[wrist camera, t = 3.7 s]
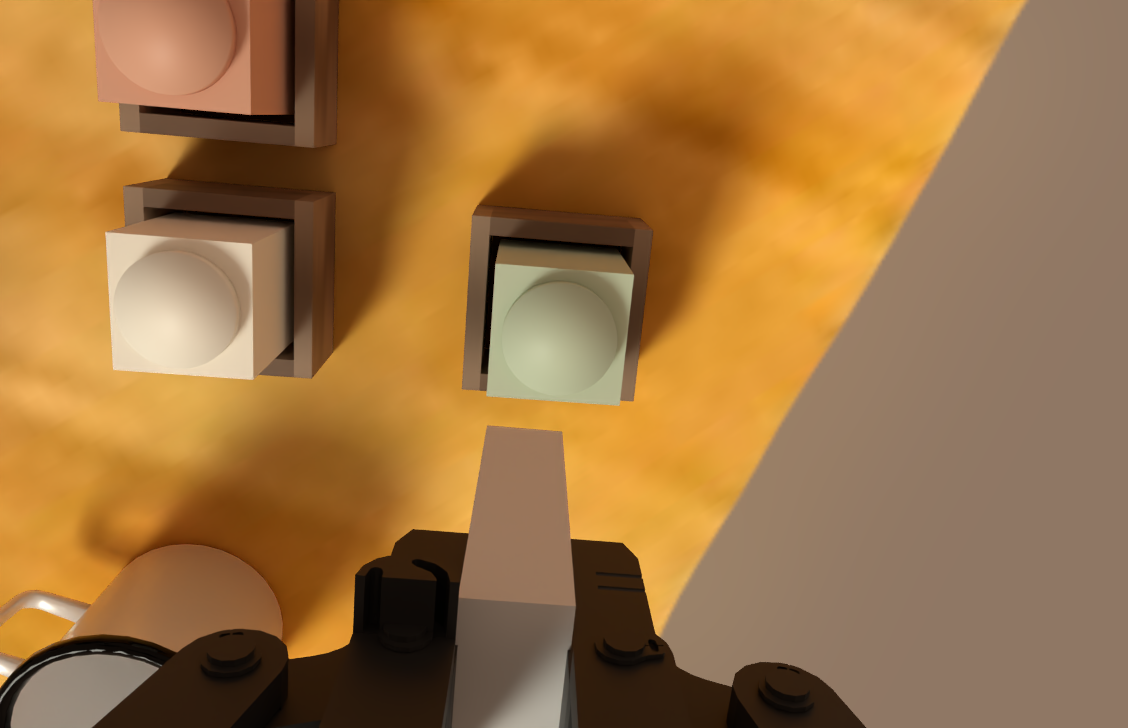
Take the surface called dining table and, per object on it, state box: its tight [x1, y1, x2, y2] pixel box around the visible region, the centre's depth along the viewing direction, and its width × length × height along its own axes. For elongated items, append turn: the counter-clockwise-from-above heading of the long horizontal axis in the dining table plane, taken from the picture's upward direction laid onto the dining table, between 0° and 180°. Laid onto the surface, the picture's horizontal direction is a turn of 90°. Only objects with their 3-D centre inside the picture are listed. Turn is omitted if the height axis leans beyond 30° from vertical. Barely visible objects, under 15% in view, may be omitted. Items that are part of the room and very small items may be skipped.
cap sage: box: [487, 239, 634, 406], centre depth 33 cm, size 5×5×7 cm
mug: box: [0, 544, 283, 728], centre depth 38 cm, size 12×10×9 cm
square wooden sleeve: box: [123, 178, 336, 378], centre depth 36 cm, size 7×7×4 cm
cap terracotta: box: [93, 0, 295, 115], centre depth 30 cm, size 5×5×7 cm
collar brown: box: [119, 0, 339, 148], centre depth 33 cm, size 7×7×4 cm
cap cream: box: [106, 212, 294, 380], centre depth 33 cm, size 5×5×7 cm
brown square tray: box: [462, 205, 653, 401], centre depth 37 cm, size 7×7×4 cm
